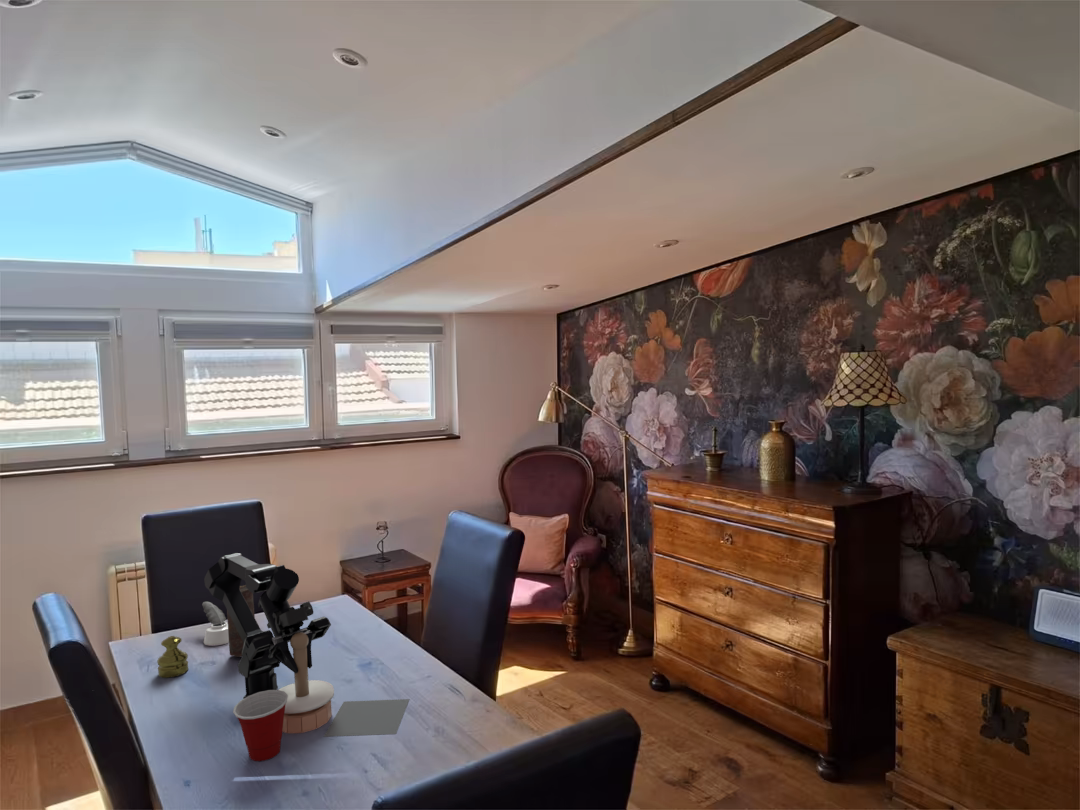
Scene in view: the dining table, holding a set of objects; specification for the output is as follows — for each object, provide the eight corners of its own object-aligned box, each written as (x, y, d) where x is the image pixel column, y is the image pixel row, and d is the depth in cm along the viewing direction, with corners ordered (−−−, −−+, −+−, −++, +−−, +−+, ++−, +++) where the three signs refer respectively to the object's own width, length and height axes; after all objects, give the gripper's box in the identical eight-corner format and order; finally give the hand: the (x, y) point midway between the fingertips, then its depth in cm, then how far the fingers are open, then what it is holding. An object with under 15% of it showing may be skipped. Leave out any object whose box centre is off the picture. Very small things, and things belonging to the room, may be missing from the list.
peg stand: (256, 709, 156) (252, 642, 155) (295, 681, 169) (292, 619, 168) (310, 716, 152) (306, 647, 151) (345, 687, 165) (342, 624, 164)
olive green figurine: (167, 667, 194) (165, 632, 194) (194, 666, 194) (191, 631, 194) (152, 678, 187) (149, 642, 187) (179, 678, 187) (177, 641, 186)
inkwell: (211, 648, 206) (209, 615, 206) (186, 634, 219) (184, 603, 218) (241, 638, 213) (239, 607, 213) (216, 625, 225) (214, 595, 225)
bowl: (268, 736, 155) (267, 719, 155) (287, 710, 167) (286, 693, 166) (321, 734, 155) (320, 717, 155) (337, 708, 167) (336, 691, 167)
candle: (246, 661, 196) (242, 591, 195) (223, 660, 198) (219, 591, 197) (262, 650, 204) (258, 583, 203) (240, 649, 205) (236, 582, 204)
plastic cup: (226, 759, 146) (223, 704, 145) (274, 737, 154) (271, 684, 154) (252, 777, 139) (248, 719, 138) (301, 753, 147) (297, 698, 147)
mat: (323, 739, 153) (323, 736, 153) (343, 703, 169) (343, 701, 169) (396, 736, 153) (396, 733, 153) (409, 701, 169) (409, 699, 169)
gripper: (249, 604, 155) (275, 666, 148) (324, 583, 169) (352, 639, 162) (236, 630, 161) (260, 691, 154) (310, 608, 174) (335, 662, 168)
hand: (303, 669), depth 159 cm, fingers closed on peg stand, 3 cm apart
